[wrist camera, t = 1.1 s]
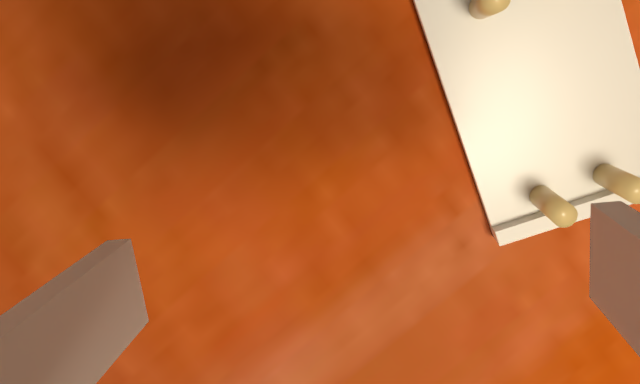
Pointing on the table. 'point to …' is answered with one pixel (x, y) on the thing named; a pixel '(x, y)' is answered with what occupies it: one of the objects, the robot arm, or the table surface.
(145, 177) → the table surface
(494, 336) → the table surface
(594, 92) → the tray
